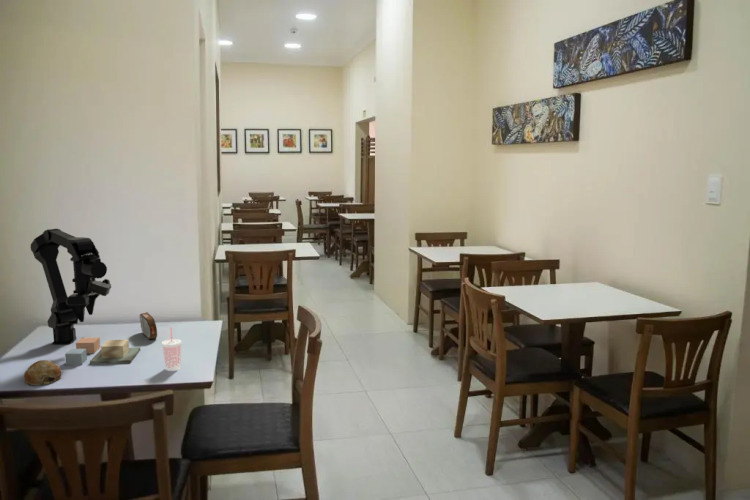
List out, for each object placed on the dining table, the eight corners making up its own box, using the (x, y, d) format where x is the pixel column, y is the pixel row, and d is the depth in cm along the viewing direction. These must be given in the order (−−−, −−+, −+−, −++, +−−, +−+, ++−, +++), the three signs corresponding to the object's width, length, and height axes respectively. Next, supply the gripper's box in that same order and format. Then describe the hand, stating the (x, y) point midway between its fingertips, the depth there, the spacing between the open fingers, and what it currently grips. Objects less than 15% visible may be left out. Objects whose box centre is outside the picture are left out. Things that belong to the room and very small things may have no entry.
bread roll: (33, 398, 186) (37, 378, 183) (15, 378, 190) (19, 358, 187) (64, 388, 194) (69, 368, 191) (46, 368, 198) (50, 349, 195)
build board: (89, 364, 204) (88, 349, 203) (102, 351, 217) (101, 337, 216) (130, 362, 206) (129, 348, 205) (140, 350, 219) (139, 336, 218)
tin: (158, 340, 229) (157, 318, 228) (149, 342, 228) (148, 320, 226) (147, 330, 242) (146, 309, 240) (139, 331, 240) (138, 310, 238)
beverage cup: (175, 363, 206) (173, 323, 203) (186, 367, 202) (184, 326, 199) (159, 368, 201) (157, 327, 198) (170, 373, 197) (167, 331, 195)
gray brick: (66, 365, 203) (65, 354, 203) (71, 360, 208) (70, 349, 208) (81, 365, 204) (81, 353, 203) (87, 359, 209) (86, 348, 208)
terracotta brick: (76, 354, 215) (75, 343, 214) (82, 348, 221) (82, 337, 220) (94, 353, 215) (93, 342, 215) (100, 348, 221) (99, 337, 220)
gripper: (99, 280, 205) (102, 325, 208) (115, 268, 223) (118, 310, 226) (63, 280, 204) (67, 326, 206) (83, 269, 222) (86, 311, 225)
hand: (86, 318), depth 216 cm, fingers open, 9 cm apart
